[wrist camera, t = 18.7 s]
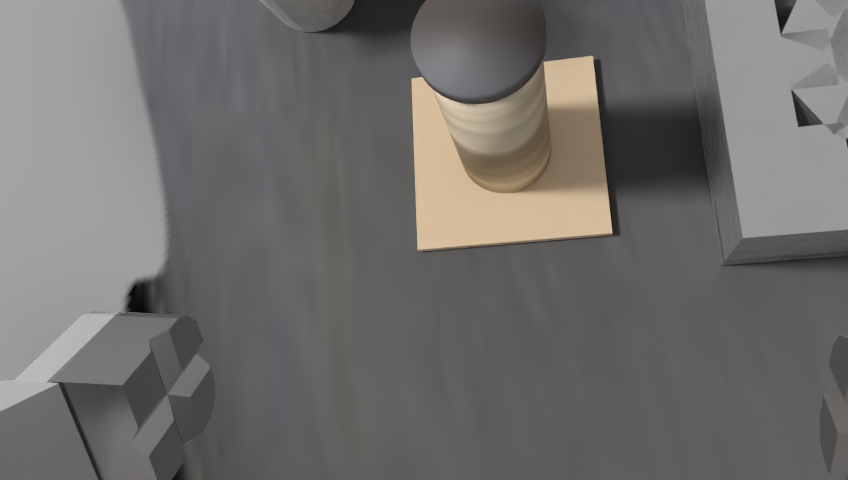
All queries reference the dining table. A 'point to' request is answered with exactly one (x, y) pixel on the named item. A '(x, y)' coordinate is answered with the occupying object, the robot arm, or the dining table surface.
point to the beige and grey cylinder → (488, 85)
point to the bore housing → (773, 124)
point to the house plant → (309, 13)
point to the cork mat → (528, 208)
